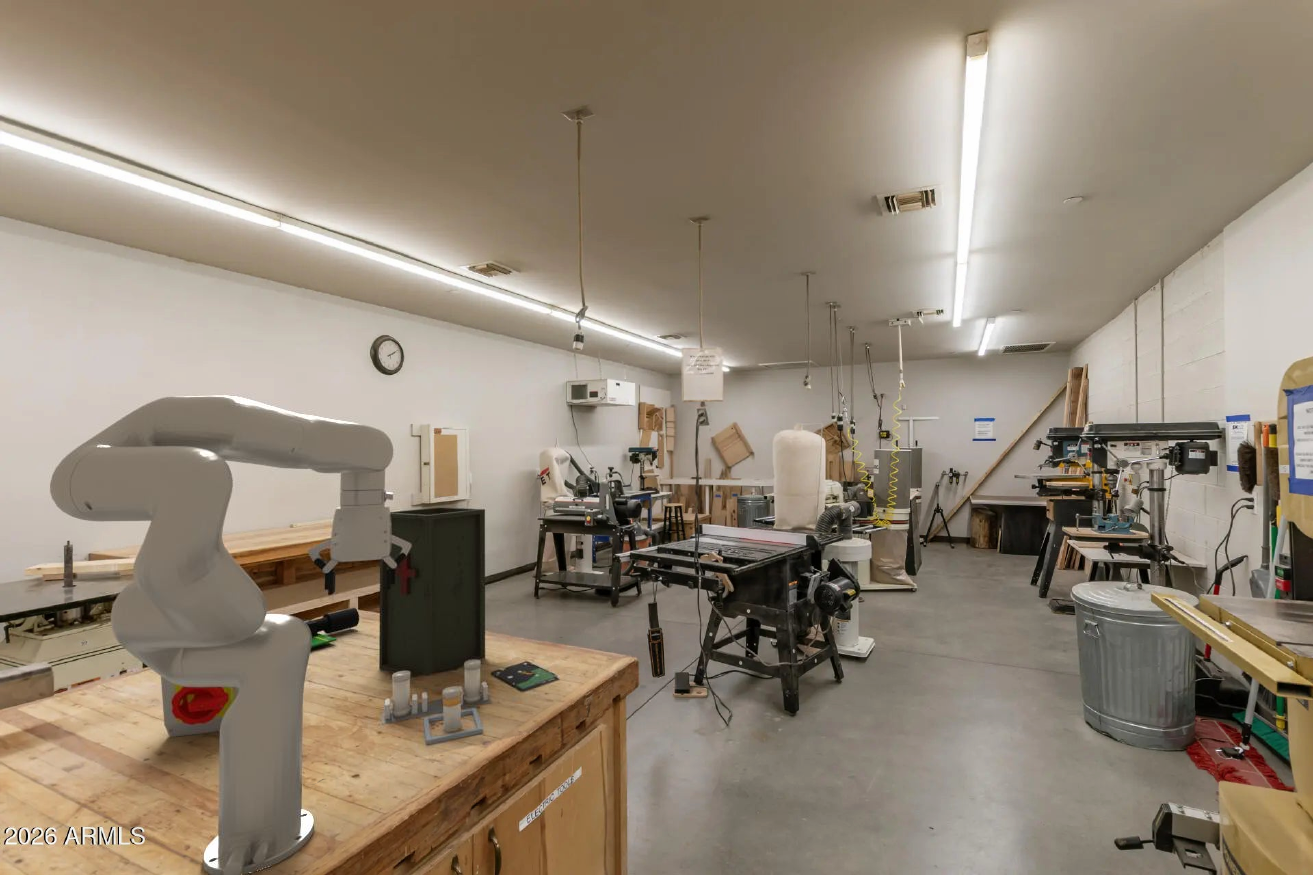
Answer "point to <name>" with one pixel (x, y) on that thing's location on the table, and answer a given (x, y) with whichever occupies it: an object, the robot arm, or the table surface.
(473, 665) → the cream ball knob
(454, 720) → the cylinder
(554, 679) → the disk drive
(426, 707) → the fuse holder
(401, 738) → the table surface
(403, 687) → the domed white capsule
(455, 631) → the first aid box
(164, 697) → the electrical switch box
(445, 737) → the tray
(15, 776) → the table surface
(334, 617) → the electronic board model
